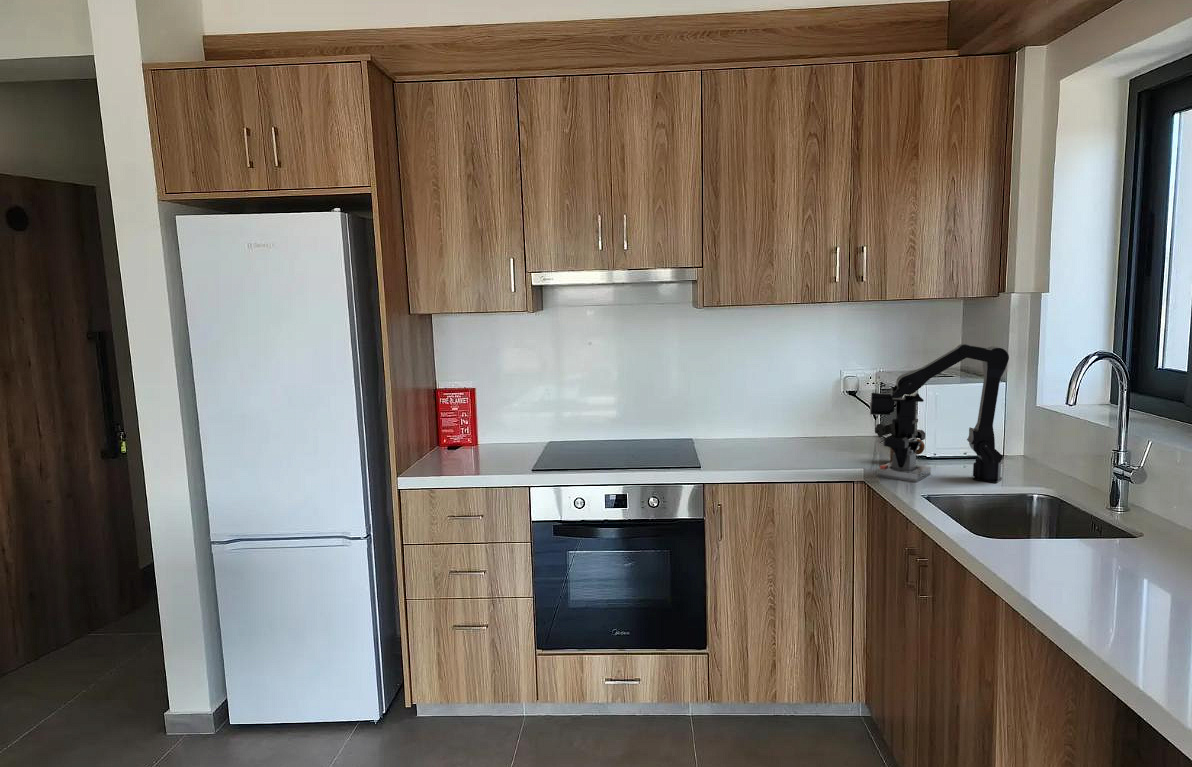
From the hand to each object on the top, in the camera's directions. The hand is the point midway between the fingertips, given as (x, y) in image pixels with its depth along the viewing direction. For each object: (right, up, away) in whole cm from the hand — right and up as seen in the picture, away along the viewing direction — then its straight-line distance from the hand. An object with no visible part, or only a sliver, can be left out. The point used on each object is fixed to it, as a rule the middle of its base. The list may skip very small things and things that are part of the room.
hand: (904, 465), depth 228 cm
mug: (+7, -1, +14) cm, 16 cm away
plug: (0, -1, 0) cm, 1 cm away
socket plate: (0, -3, 0) cm, 3 cm away
